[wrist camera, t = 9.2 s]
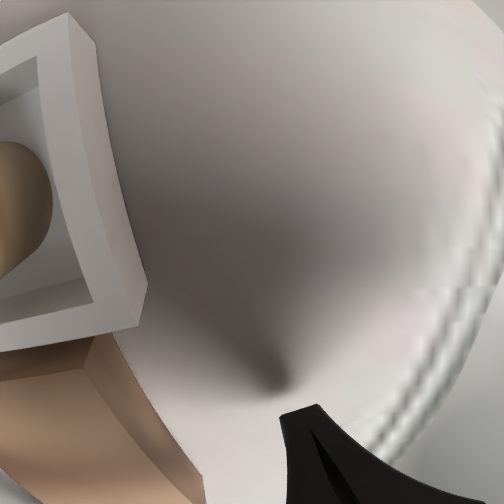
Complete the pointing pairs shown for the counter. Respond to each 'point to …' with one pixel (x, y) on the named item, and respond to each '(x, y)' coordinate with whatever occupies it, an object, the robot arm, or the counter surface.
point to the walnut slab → (87, 429)
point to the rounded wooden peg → (22, 204)
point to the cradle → (67, 195)
